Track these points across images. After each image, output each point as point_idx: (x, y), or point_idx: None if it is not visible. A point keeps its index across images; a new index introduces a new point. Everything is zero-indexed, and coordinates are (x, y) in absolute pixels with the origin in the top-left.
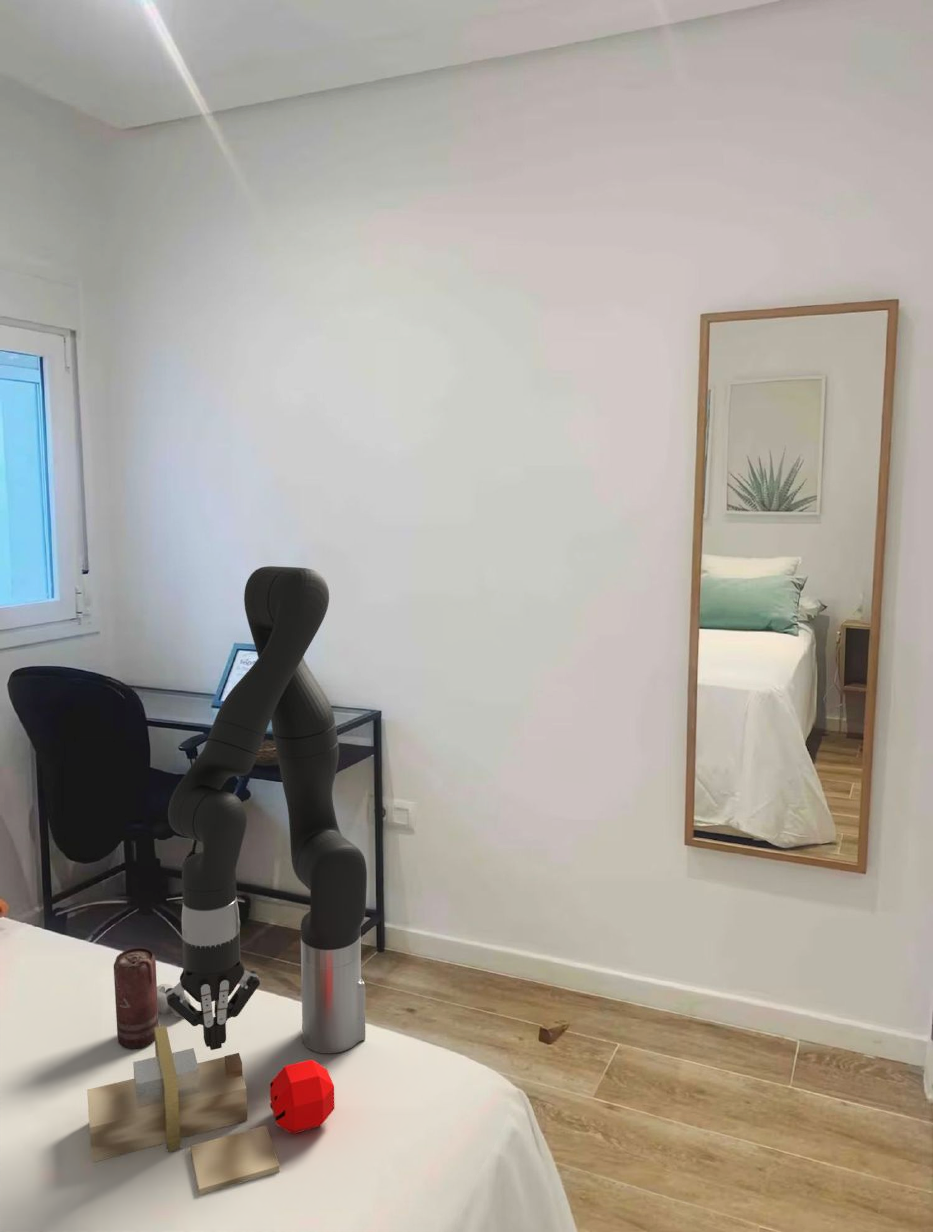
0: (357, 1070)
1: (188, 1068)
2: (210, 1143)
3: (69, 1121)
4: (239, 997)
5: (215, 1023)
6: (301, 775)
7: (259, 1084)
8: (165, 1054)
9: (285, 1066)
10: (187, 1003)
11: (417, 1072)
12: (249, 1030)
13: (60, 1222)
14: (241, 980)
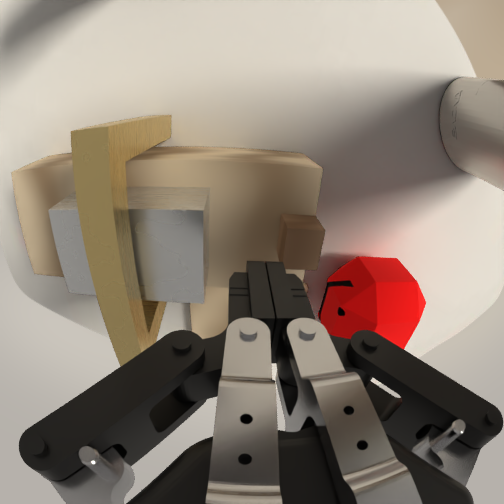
0: (458, 219)
1: (178, 292)
2: (218, 291)
3: (28, 144)
4: (385, 427)
5: (272, 350)
6: None
7: (340, 172)
8: (109, 290)
9: (377, 326)
10: (146, 418)
11: (486, 256)
12: (371, 11)
13: (57, 313)
14: (431, 461)
